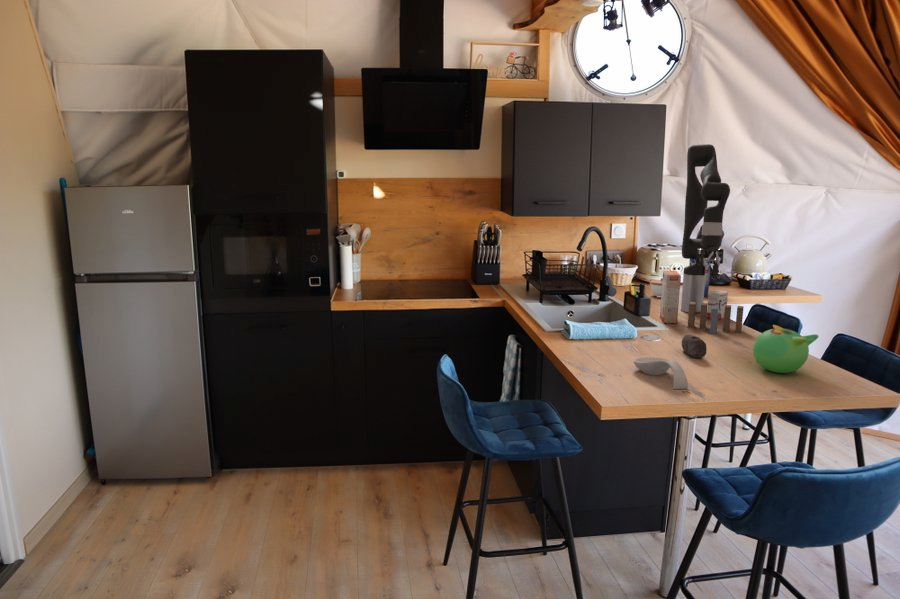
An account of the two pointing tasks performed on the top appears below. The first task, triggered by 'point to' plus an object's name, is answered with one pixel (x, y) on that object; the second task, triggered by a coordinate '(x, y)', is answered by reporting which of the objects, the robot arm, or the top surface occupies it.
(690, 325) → the domino
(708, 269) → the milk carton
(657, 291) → the lidded jar
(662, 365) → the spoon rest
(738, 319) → the domino
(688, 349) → the perforated stone tool
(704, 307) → the domino
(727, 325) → the domino
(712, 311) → the domino
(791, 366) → the toy bird
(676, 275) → the cracker box
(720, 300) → the ink box
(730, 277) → the top surface
